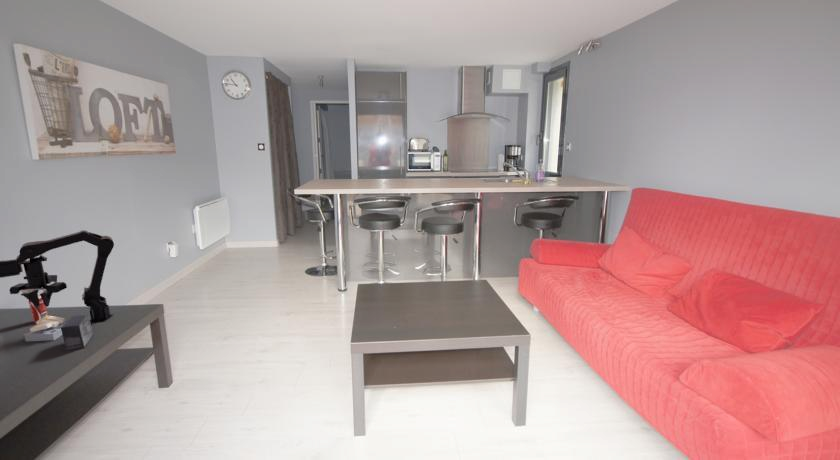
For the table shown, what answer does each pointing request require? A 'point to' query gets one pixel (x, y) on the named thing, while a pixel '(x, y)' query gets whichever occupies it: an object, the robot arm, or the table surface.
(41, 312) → the soda can
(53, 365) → the table surface
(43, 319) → the rocker
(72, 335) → the small box
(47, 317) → the rocker
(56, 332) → the switch unit
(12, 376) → the table surface
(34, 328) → the rocker
